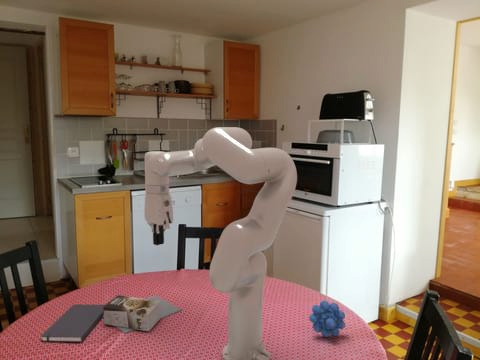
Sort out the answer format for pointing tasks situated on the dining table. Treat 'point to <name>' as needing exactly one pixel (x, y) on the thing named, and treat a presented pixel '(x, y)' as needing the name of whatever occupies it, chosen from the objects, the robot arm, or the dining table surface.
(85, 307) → the notebook
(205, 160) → the robot arm
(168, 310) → the mat
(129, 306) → the coffee box
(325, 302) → the grapes
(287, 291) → the dining table surface
